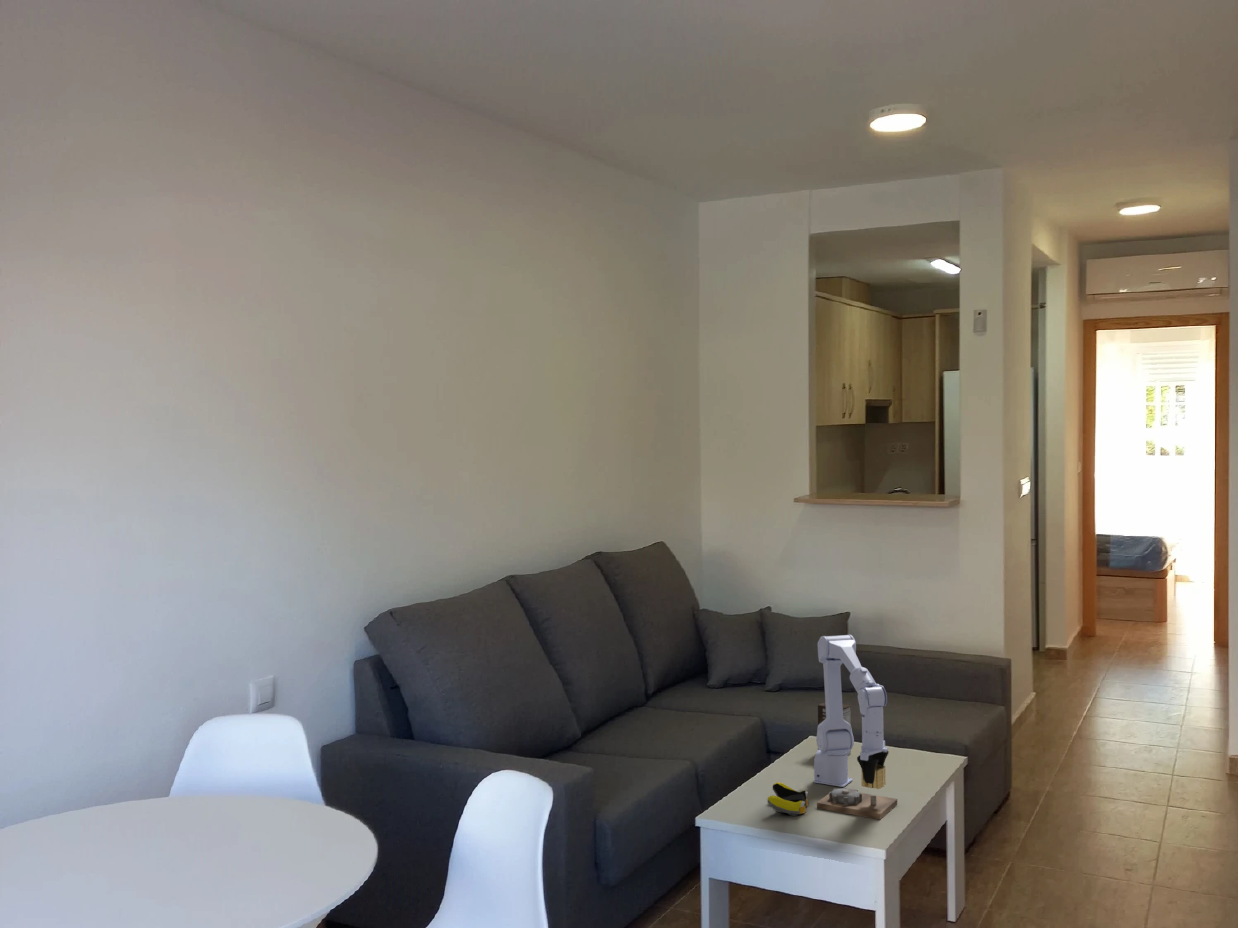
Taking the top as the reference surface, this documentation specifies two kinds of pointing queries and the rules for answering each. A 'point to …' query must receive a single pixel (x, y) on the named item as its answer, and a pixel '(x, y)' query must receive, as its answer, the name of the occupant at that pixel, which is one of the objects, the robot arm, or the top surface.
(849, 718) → the coffee box
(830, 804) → the gear board
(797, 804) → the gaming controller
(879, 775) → the wooden gear
